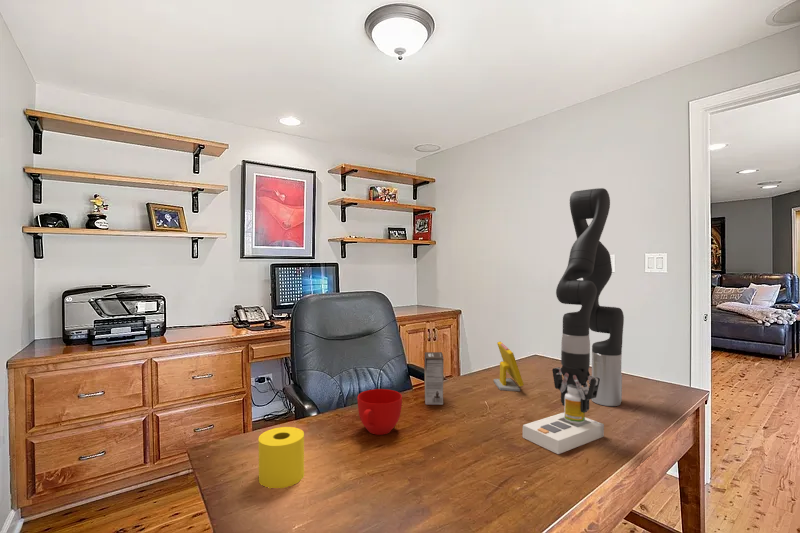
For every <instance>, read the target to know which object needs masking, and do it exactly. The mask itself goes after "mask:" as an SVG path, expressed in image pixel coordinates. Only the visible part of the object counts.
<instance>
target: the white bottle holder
mask: <svg viewBox="0 0 800 533" xmlns="http://www.w3.org/2000/svg"><path fill="white" fill-rule="evenodd" d="M604 430H605V423H602V422H598V421H596V420H593V419H592V418H588V417H586V416H585V421H584V423H581V424H575V423H570V422H568V421H566V420H565V418H564V411H563V412H560V413H558V414H554V415H551V416H547V417H544V418H541V419H538V420H534V421H532V422H528V423H524V424H523V425H522V438H523V439H525V440H527V441H529V442H531V443H534V444H536V445H537V446H540V447H542V448H544V449H545V450H548V451H551V452H552V453H555V454H557V455H560V454H563V453H565V452H567V451H570V450H572V449H575V448H577V447H581V446H583V445H585V444H588V443H591V442H593V441H596V440H598V439H601V438H603V437H604V436H605V431H604Z"/></svg>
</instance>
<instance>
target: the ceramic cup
mask: <svg viewBox="0 0 800 533" xmlns="http://www.w3.org/2000/svg"><path fill="white" fill-rule="evenodd" d="M402 405H403V396H402V394H401V393H400V392H398V391H396V390H392V389H385V388H375V389H374V388H373V389H369V390H365V391H361V392H360V393H358V395H357V409H358V411H357V412H358V415H359V419H360V422H361V423H362V425H363V426H364V428H365V429H366V430H367V431H368V432H369V434H372V435H376V436H380V435H381V436H382V435H387V434H390V433H391V431H392V430H393V429H394V428H395V426H397V424H398V422H399V419H400V417H401V414H402Z"/></svg>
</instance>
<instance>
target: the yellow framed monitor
mask: <svg viewBox="0 0 800 533" xmlns="http://www.w3.org/2000/svg"><path fill="white" fill-rule="evenodd" d="M496 344H497V346H498V349H499V353H500V355H501V356H500V357H501V359H502V361H500V362H499V378H493V383H494V384H495V385H496V387H497V389H499V390H500V391H506V392H507V391H508V392H521V388H520V387H522V386H524V381H523V379H522V378H523V377H522V376H521V375H522V374H521V371H520V370H519V367H518V363H517V360H516V358H515V357H516V356H515V355H514V351H512V350H510V349H509V347H507V346H506V345H505V344H504V343H503V342H502V341H498V342H497V343H496ZM507 373H508V375H509V376H510V377H511V378H510V377H508V378H507Z"/></svg>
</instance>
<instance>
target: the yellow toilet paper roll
mask: <svg viewBox="0 0 800 533" xmlns="http://www.w3.org/2000/svg"><path fill="white" fill-rule="evenodd" d="M304 476H305V432H304V430H302V429H301V428H298V427H293V426H281V427H275V428H271V429H268V430H266V431H264V432H262V433H261V434H260V435H259V436H258V483H259V484H260V486H262V485H263V486H265V487H264V488H266V487H269V488H268V489H271V488H280V489H284V488H285V487H286V488H289V487H288V486H290V487H292V486H294V484H295V485H296V484H298V483H299V482H301V481H302V480H303V479H304ZM301 479H302V480H301ZM300 480H301V481H300ZM263 486H262V487H263ZM286 488H285V489H286Z"/></svg>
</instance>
